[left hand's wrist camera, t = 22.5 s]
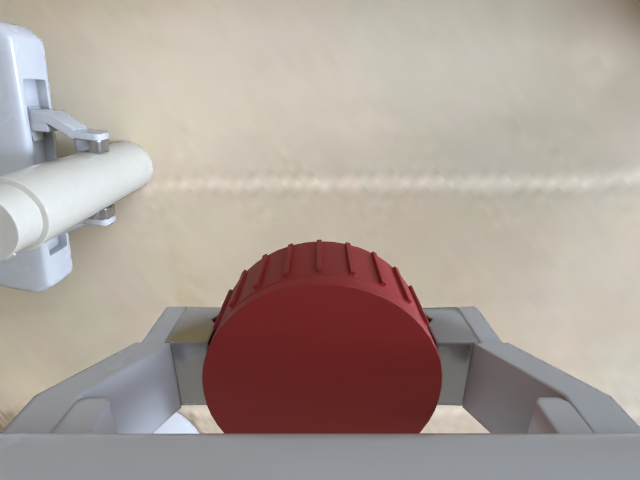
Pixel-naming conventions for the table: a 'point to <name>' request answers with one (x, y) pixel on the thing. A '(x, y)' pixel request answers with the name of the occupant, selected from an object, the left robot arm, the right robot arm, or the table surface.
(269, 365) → the lid
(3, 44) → the right robot arm
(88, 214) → the white cylindrical bottle
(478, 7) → the table surface
